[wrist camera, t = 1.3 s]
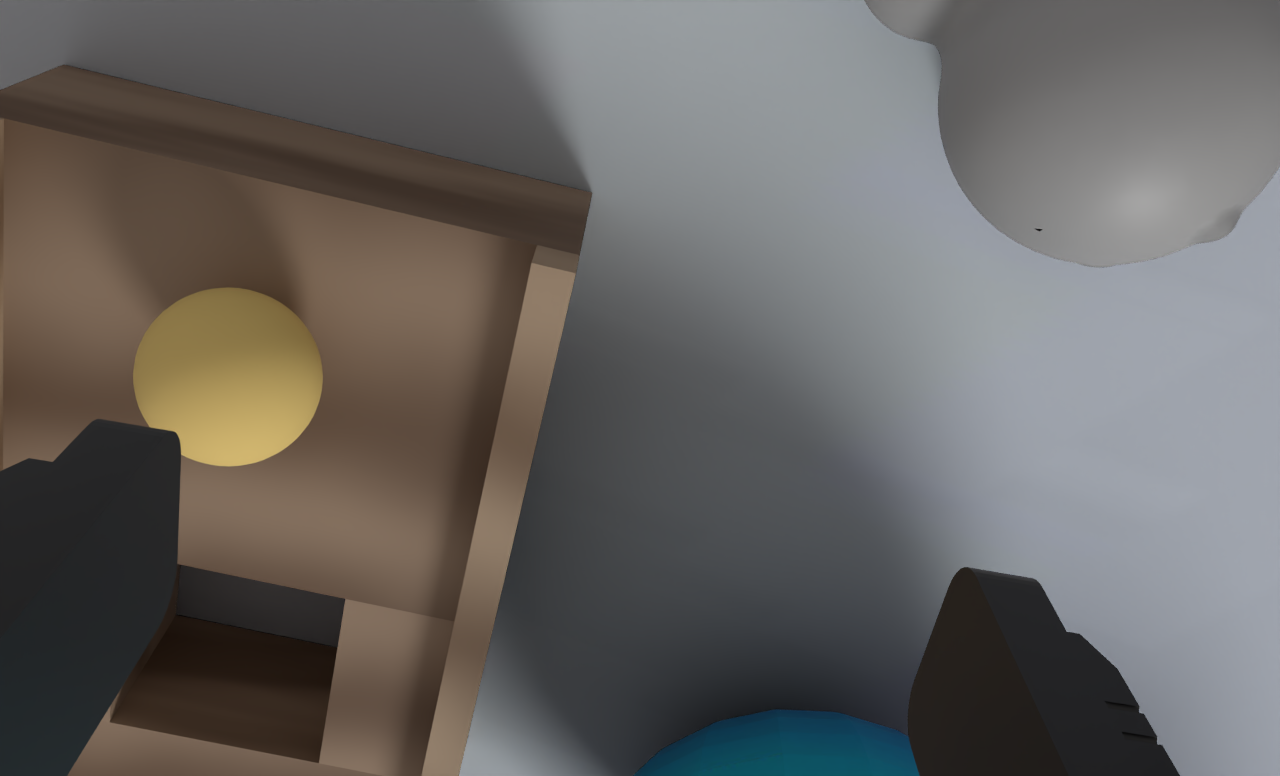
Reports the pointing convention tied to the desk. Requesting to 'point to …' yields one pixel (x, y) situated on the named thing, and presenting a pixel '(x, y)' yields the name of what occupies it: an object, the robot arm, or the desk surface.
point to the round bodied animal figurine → (1105, 116)
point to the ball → (228, 376)
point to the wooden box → (342, 424)
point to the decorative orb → (787, 748)
